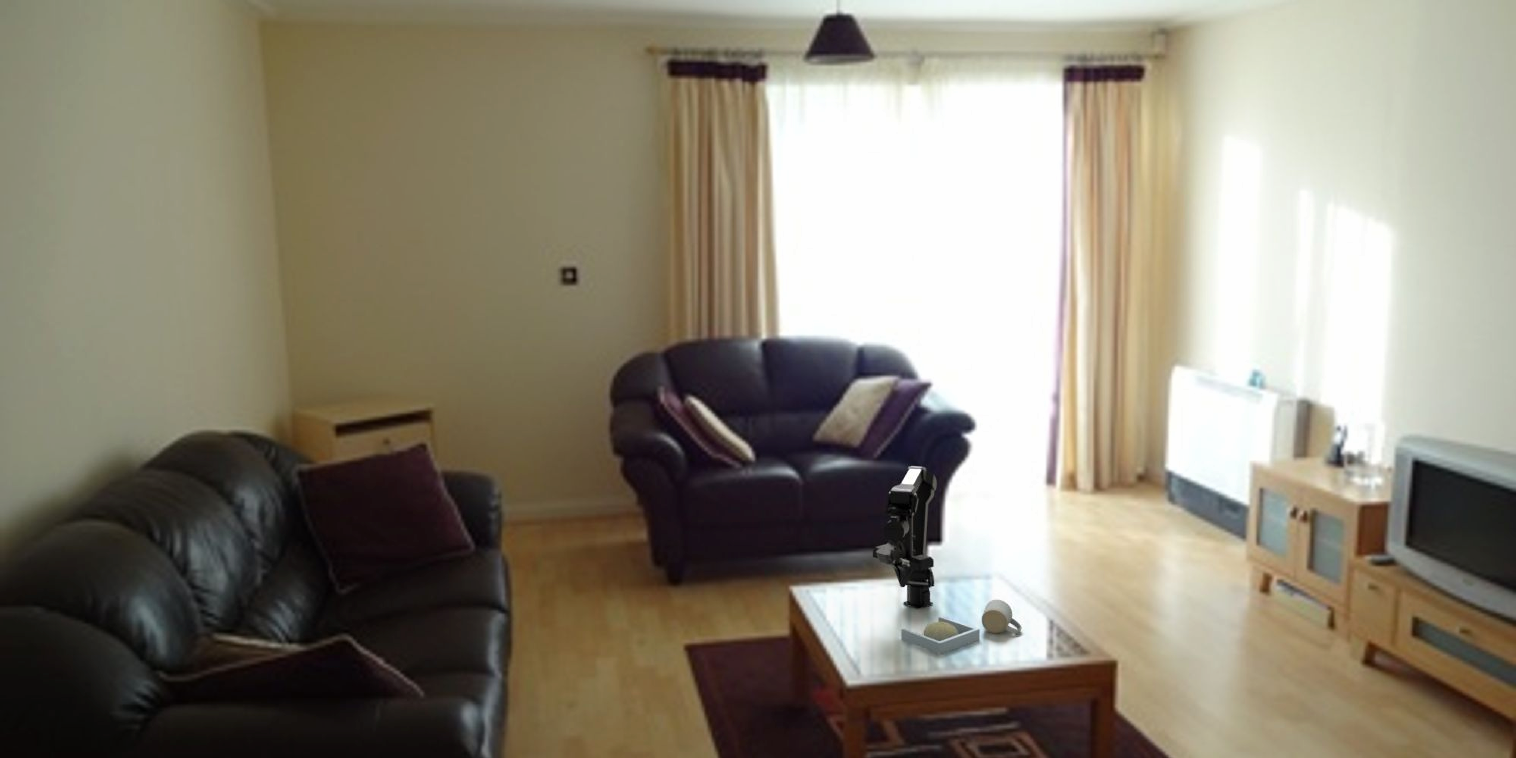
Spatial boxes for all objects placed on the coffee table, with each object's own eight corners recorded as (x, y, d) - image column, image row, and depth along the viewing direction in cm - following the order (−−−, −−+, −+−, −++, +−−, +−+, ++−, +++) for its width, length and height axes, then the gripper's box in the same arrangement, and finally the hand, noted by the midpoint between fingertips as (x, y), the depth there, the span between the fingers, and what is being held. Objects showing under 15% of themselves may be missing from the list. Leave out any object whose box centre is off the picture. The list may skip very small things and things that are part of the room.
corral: (901, 639, 290) (901, 629, 290) (940, 626, 300) (940, 615, 300) (939, 654, 279) (939, 643, 279) (979, 639, 289) (979, 629, 289)
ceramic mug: (980, 633, 294) (980, 606, 293) (984, 623, 301) (985, 597, 300) (1019, 638, 290) (1020, 611, 289) (1023, 628, 298) (1023, 601, 297)
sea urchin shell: (953, 642, 282) (933, 618, 285) (934, 659, 286) (914, 635, 288) (966, 631, 290) (946, 608, 292) (946, 648, 294) (927, 625, 296)
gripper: (858, 531, 300) (859, 585, 301) (906, 544, 285) (907, 600, 287) (886, 524, 306) (886, 577, 308) (935, 537, 292) (935, 592, 294)
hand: (902, 586), depth 299 cm, fingers closed
